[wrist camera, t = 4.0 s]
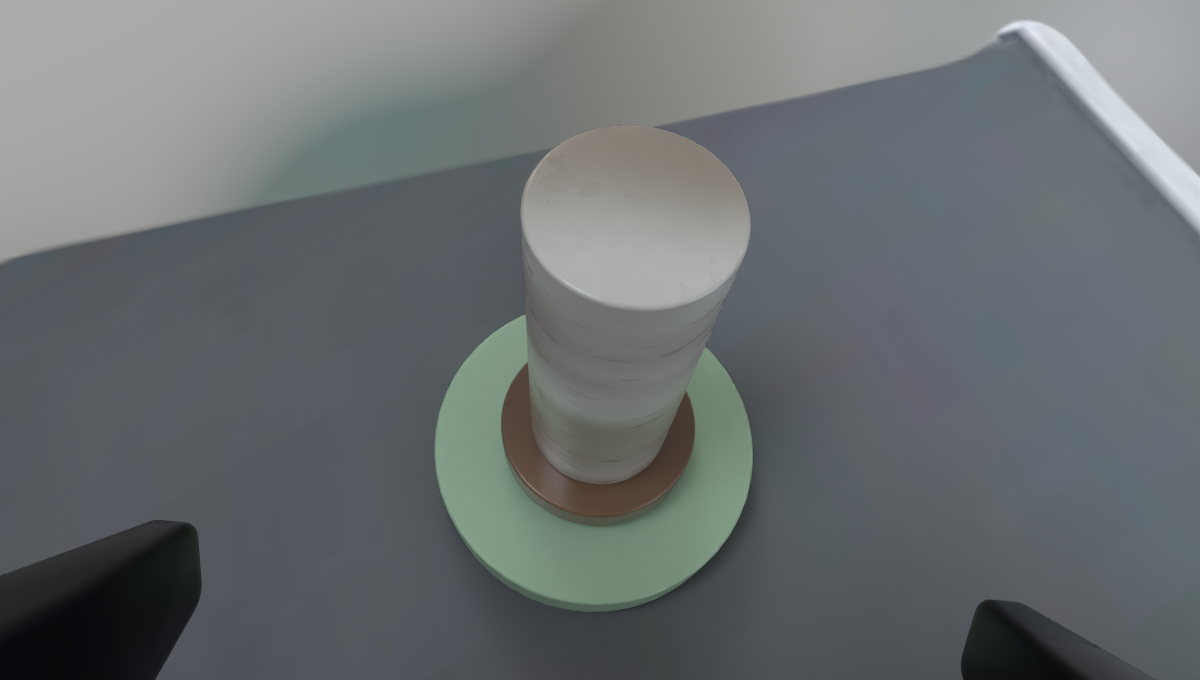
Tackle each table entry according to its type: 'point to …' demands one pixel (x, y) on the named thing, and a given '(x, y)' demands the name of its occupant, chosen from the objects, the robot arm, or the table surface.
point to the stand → (571, 550)
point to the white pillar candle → (617, 317)
